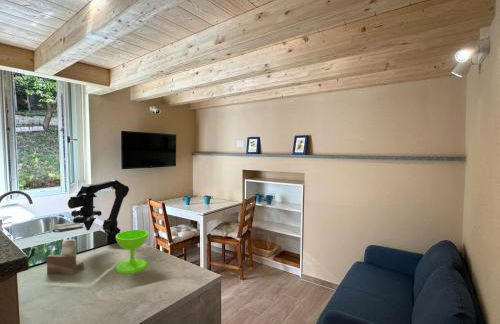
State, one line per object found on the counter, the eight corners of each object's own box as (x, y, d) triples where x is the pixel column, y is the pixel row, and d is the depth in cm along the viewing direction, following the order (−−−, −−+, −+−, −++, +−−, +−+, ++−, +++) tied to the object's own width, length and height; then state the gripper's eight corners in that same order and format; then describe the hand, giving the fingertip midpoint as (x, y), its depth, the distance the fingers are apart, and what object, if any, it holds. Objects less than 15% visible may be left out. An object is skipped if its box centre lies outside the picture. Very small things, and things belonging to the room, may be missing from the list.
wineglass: (150, 269, 139) (150, 236, 138) (117, 276, 130) (117, 241, 129) (144, 258, 152) (145, 228, 151) (114, 263, 144) (114, 232, 143)
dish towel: (78, 223, 215) (78, 219, 215) (83, 228, 203) (83, 224, 202) (50, 227, 202) (50, 223, 202) (53, 233, 190) (53, 229, 189)
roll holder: (72, 259, 147) (72, 242, 147) (96, 260, 147) (96, 243, 146) (45, 276, 128) (45, 256, 128) (73, 277, 128) (72, 257, 128)
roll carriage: (67, 263, 140) (67, 237, 139) (83, 264, 140) (83, 238, 139) (54, 271, 131) (53, 243, 130) (71, 272, 131) (71, 244, 130)
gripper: (85, 201, 168) (85, 225, 169) (63, 208, 149) (64, 234, 150) (101, 202, 168) (102, 225, 168) (82, 209, 149) (82, 235, 150)
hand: (88, 230), depth 159 cm, fingers closed
